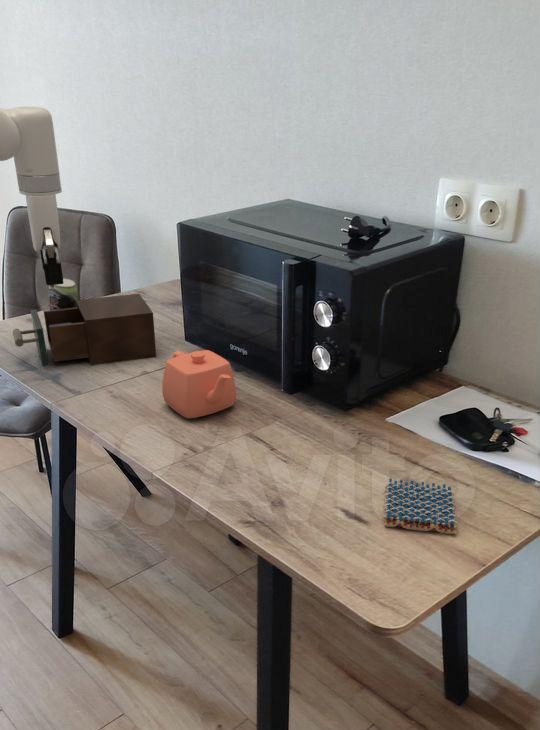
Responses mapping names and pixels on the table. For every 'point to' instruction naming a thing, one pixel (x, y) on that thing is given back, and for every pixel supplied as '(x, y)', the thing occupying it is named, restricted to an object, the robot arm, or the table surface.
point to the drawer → (58, 335)
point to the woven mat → (420, 507)
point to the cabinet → (118, 328)
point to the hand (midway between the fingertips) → (53, 276)
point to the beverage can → (63, 295)
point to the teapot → (198, 383)
